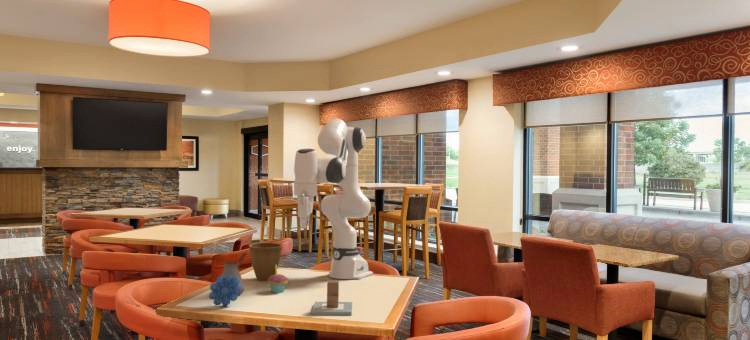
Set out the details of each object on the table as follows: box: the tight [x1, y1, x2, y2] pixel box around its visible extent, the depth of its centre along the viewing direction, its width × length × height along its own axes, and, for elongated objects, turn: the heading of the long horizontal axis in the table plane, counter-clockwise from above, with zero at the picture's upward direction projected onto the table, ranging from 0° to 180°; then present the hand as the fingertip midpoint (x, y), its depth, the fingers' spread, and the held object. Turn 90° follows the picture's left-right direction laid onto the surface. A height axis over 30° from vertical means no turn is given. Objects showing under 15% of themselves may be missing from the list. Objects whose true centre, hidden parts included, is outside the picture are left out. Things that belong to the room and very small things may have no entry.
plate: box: [311, 301, 353, 316], centre depth 198 cm, size 14×14×1 cm
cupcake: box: [266, 265, 289, 294], centre depth 226 cm, size 9×8×12 cm
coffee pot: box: [220, 251, 250, 296], centre depth 224 cm, size 21×12×15 cm, turn 170°
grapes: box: [208, 274, 241, 307], centre depth 202 cm, size 12×7×12 cm, turn 98°
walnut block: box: [326, 280, 340, 308], centre depth 198 cm, size 4×4×9 cm
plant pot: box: [248, 242, 283, 282], centre depth 249 cm, size 15×15×16 cm
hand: (305, 227), depth 207 cm, fingers open, 8 cm apart
